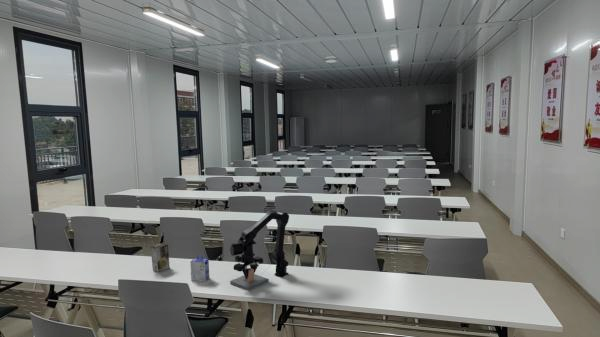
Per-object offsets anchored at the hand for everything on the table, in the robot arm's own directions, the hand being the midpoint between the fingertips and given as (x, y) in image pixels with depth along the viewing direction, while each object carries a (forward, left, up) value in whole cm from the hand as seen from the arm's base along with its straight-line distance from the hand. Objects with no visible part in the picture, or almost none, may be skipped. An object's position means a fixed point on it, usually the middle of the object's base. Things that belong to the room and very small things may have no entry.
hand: (249, 277), depth 231 cm
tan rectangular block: (0, 0, -3) cm, 3 cm away
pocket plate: (0, 0, -3) cm, 3 cm away
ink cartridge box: (+15, -28, -3) cm, 32 cm away
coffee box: (+21, -64, -3) cm, 67 cm away
